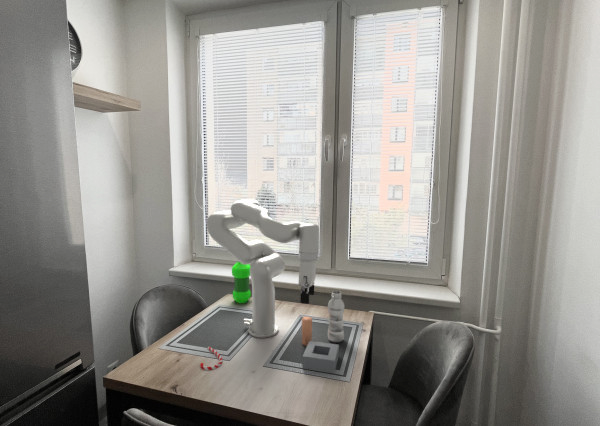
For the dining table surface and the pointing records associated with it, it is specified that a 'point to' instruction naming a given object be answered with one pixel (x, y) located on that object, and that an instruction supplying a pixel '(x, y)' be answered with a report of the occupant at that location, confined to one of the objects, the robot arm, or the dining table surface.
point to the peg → (306, 330)
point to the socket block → (320, 357)
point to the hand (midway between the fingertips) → (307, 298)
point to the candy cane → (214, 365)
